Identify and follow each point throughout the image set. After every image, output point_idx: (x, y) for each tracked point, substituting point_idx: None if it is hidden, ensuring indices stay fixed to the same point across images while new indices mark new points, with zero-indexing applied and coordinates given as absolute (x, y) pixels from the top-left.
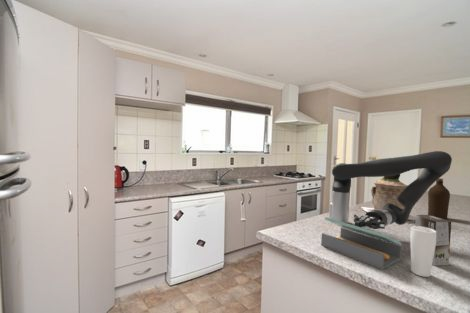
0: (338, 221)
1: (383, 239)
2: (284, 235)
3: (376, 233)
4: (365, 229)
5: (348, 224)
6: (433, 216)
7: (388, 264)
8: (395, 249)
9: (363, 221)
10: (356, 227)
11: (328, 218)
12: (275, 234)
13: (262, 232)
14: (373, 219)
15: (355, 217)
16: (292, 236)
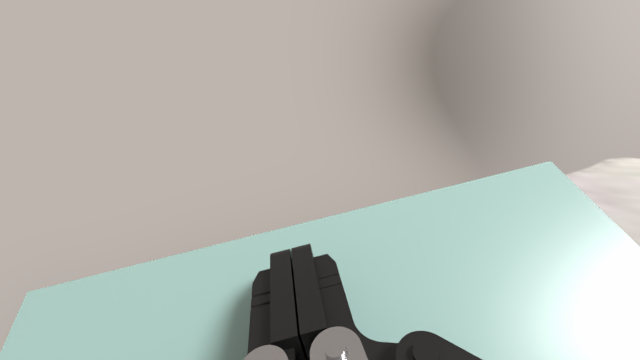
0: (425, 195)
1: None
2: (624, 206)
3: (110, 277)
4: (194, 253)
5: (336, 218)
6: None
7: None
8: None
9: (270, 331)
10: (268, 238)
11: (517, 171)
12: (622, 184)
13: (629, 159)
14: None
15: (478, 357)
16: (623, 229)
